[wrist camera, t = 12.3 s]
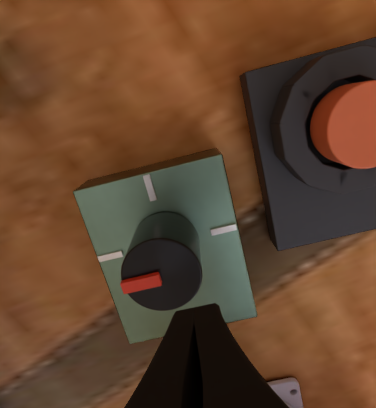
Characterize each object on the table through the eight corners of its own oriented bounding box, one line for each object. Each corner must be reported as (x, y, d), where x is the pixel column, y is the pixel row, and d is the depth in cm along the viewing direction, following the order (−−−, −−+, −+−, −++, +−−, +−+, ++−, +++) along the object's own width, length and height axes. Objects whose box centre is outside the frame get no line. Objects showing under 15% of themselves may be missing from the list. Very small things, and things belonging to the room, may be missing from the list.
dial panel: (249, 293, 21) (258, 318, 18) (135, 318, 22) (128, 346, 19) (217, 147, 18) (222, 153, 16) (86, 180, 19) (71, 192, 16)
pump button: (388, 151, 15) (416, 157, 13) (314, 169, 15) (331, 178, 14) (383, 74, 14) (413, 69, 12) (304, 94, 14) (321, 92, 13)
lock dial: (190, 204, 17) (191, 232, 13) (205, 264, 18) (211, 306, 14) (124, 220, 17) (107, 252, 13) (144, 278, 18) (133, 323, 14)
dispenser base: (397, 210, 19) (442, 231, 16) (270, 239, 20) (287, 266, 17) (388, 35, 17) (439, 17, 13) (239, 75, 17) (252, 67, 14)
